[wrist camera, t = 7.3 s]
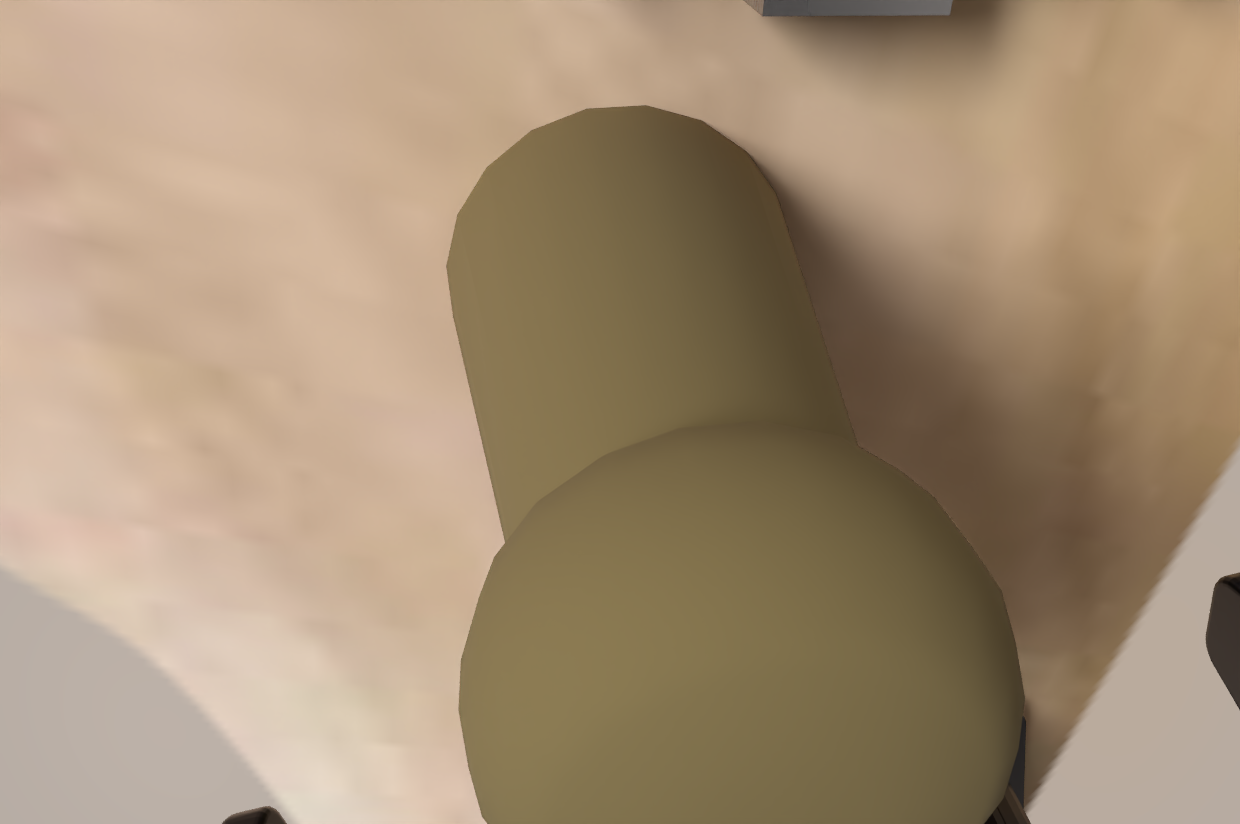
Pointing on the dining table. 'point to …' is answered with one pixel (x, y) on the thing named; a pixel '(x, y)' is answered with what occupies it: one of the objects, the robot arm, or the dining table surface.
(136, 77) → the dining table surface
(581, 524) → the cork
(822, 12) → the sprocket
